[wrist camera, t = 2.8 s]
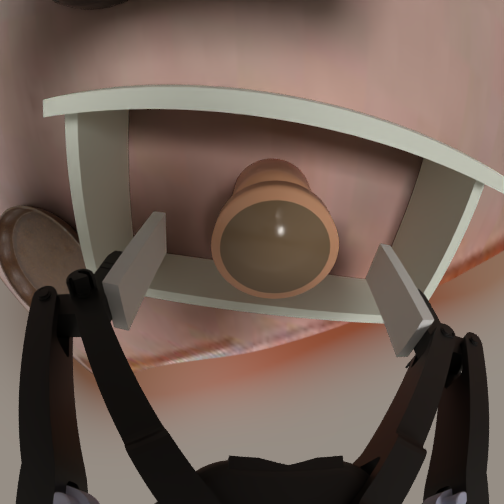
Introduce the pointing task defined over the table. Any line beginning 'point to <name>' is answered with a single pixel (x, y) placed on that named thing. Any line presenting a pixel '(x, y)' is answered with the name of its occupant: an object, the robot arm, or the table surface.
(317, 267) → the terracotta pot
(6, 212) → the plant saucer
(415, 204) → the frame
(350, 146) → the table surface
